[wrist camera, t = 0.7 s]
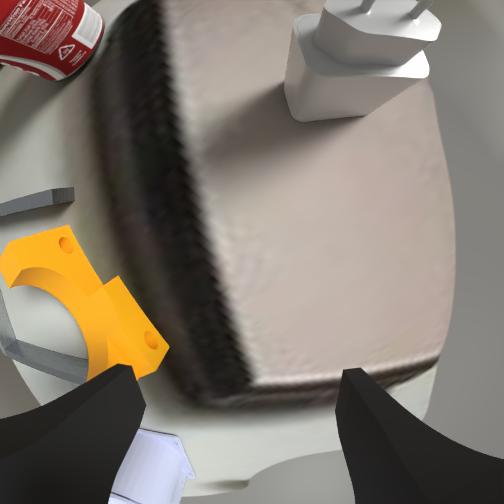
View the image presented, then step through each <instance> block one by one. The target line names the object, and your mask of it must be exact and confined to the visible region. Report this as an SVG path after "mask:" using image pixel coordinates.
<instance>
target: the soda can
mask: <svg viewBox="0 0 504 504" xmlns="http://www.w3.org/2000/svg"><path fill="white" fill-rule="evenodd" d="M104 28H105V22H104V19H103V18H102V16H101V15H99V14H98V13H97V12H96V11H95V10H93V9H92V8H91V7H90V6H89V5H87V4H86V3H85V2H84V1H82V0H0V64H3V65H6V66H9V67H13V68H16V69H19V70H22V71H25V72H28V73H31V74H34V75H37V76H40V77H43V78H45V79H48V80H51V81H59V80H62V79H65V78H67V77H69V76H70V75H72V74H73V73H75V72H76V71H77V70H78V69H79V68H80V67H82V66H83V65H84V64H85V62H86V61H87V60H88V59H89V58H90V57H91V55H92V54H93V53H94V51H95V50H96V48H97V47H98V45H99V43H100V41H101V39H102V36H103V33H104Z"/></svg>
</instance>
